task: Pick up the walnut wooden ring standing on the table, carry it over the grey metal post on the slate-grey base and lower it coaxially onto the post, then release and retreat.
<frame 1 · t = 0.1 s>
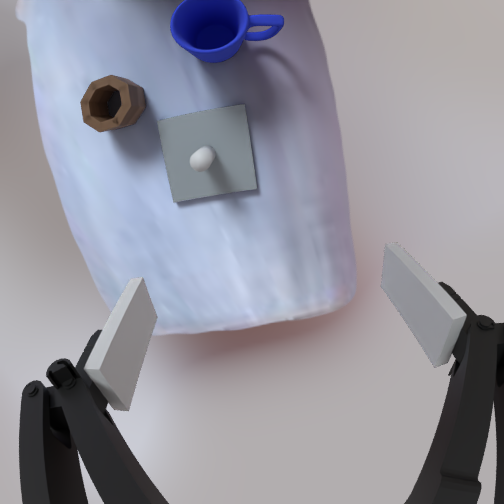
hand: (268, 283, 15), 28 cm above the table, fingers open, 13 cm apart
ring: (122, 104, 34), on the table
mug: (230, 41, 31), on the table
post: (207, 152, 38), on the table
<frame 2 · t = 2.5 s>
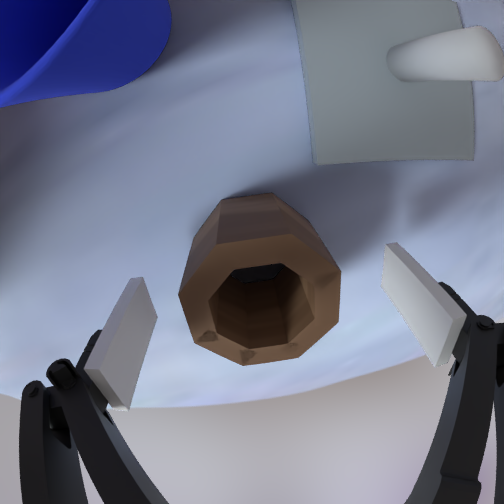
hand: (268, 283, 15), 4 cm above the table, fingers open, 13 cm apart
ring: (254, 250, 18), on the table
mug: (119, 12, 11), on the table
post: (395, 65, 13), on the table
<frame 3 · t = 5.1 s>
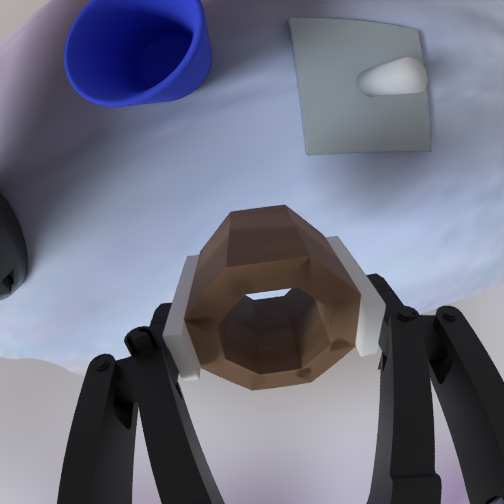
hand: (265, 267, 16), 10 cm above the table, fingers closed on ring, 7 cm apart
ring: (265, 265, 17), point 9 cm above the table, touching gripper
mug: (172, 44, 19), on the table
post: (365, 84, 20), on the table
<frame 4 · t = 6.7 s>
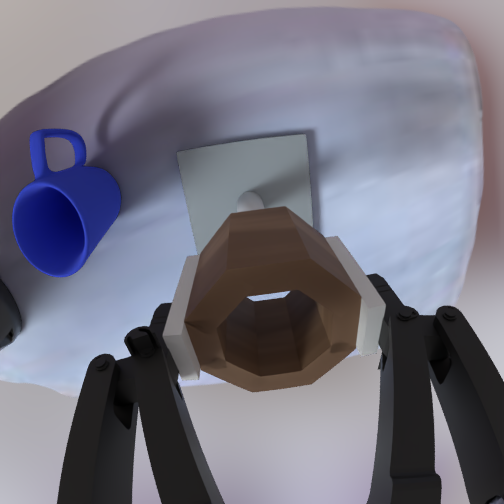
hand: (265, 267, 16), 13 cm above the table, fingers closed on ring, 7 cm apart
ring: (265, 267, 17), point 13 cm above the table, touching gripper
mug: (94, 178, 26), on the table
post: (249, 200, 29), on the table
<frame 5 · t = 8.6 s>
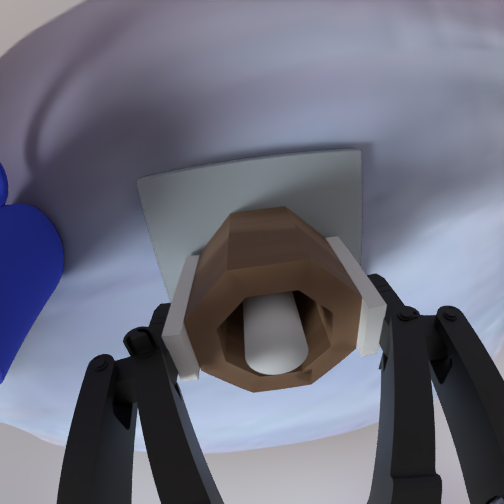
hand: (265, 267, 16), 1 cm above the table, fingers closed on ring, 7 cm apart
ring: (265, 267, 17), point 1 cm above the table, touching gripper, post
mug: (28, 217, 16), on the table
post: (261, 257, 18), on the table
when the fingers open (1 cm above the table, at t = 8.7 s): ring stays where it is, resting on post.
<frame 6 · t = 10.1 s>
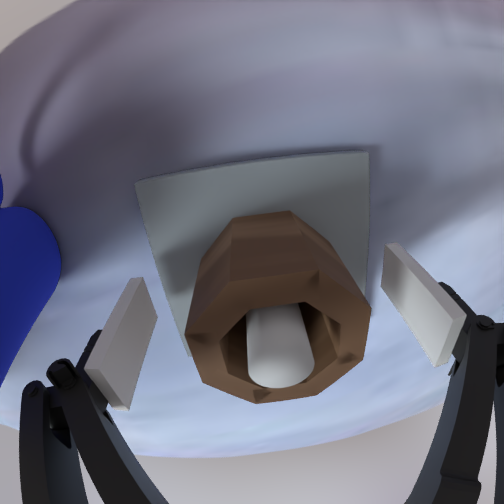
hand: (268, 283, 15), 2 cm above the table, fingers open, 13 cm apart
ring: (268, 273, 16), point 1 cm above the table, touching post
mug: (24, 220, 15), on the table
post: (264, 263, 17), on the table
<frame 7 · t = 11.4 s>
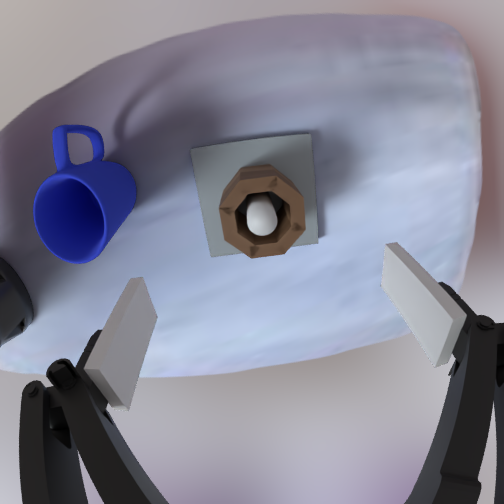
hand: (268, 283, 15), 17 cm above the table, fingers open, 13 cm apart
ring: (259, 199, 29), point 1 cm above the table, touching post
mug: (110, 172, 29), on the table
post: (257, 195, 30), on the table
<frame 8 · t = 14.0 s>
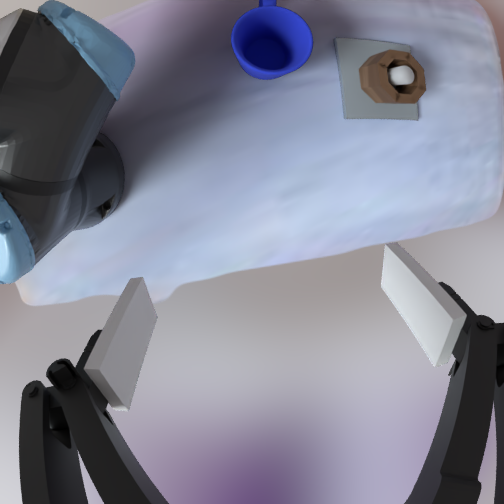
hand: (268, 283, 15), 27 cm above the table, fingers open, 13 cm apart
ring: (381, 79, 32), point 1 cm above the table, touching post
mug: (263, 44, 31), on the table
post: (377, 79, 33), on the table
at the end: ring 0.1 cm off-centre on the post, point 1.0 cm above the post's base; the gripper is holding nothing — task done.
